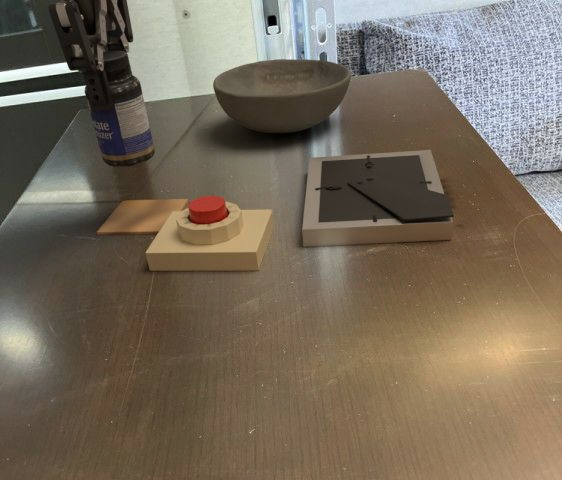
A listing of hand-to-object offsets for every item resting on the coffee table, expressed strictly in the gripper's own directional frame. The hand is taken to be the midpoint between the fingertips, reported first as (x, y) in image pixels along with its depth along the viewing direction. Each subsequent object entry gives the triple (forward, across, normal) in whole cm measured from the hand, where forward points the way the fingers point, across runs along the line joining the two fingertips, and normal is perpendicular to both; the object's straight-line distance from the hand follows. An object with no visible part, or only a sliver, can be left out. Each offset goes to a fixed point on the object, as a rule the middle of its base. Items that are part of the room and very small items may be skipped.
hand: (114, 98), depth 69 cm
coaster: (+14, 0, 0) cm, 14 cm away
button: (+11, +8, +11) cm, 17 cm away
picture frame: (+14, -3, +28) cm, 32 cm away
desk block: (+14, +8, +11) cm, 20 cm away
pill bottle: (+7, 0, 0) cm, 7 cm away
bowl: (+14, -32, +13) cm, 37 cm away
